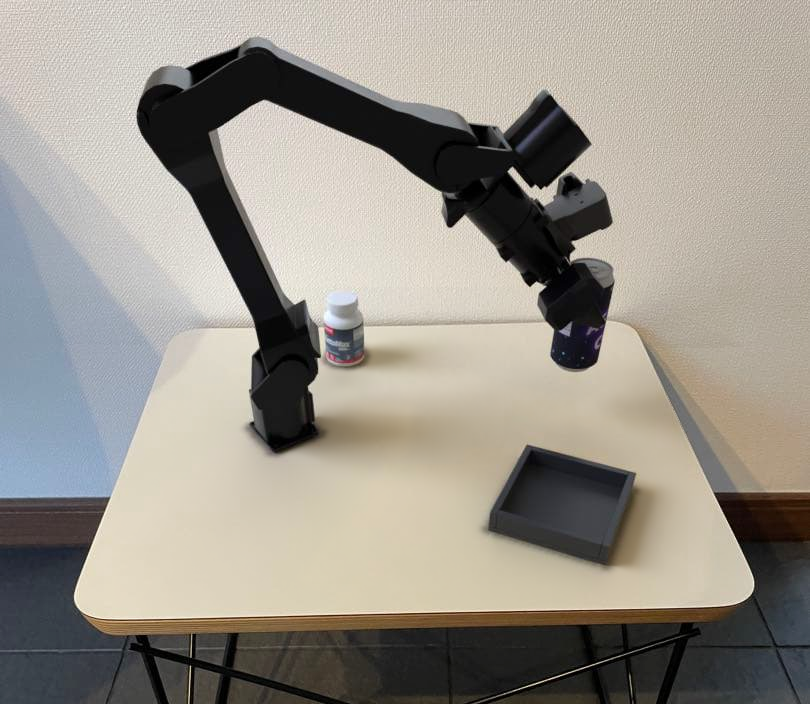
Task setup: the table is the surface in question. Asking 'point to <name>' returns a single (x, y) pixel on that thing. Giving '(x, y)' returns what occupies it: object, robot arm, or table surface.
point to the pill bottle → (344, 329)
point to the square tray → (563, 503)
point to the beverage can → (584, 327)
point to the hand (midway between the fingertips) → (593, 312)
